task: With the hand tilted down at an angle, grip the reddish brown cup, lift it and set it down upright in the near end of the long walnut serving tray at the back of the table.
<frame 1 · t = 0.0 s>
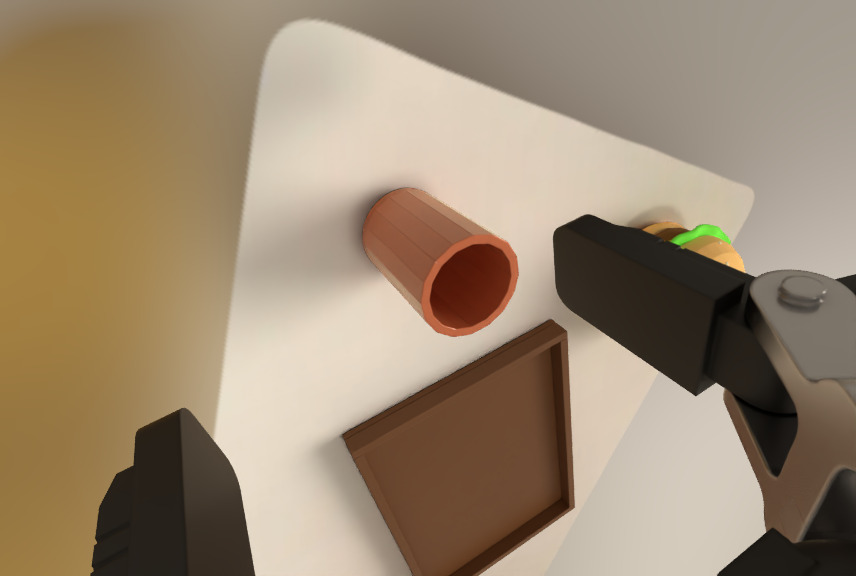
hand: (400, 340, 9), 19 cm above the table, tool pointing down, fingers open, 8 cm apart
reddish brown cup: (403, 231, 30), on the table
hamburger: (637, 268, 44), on the table
tray: (479, 471, 47), on the table
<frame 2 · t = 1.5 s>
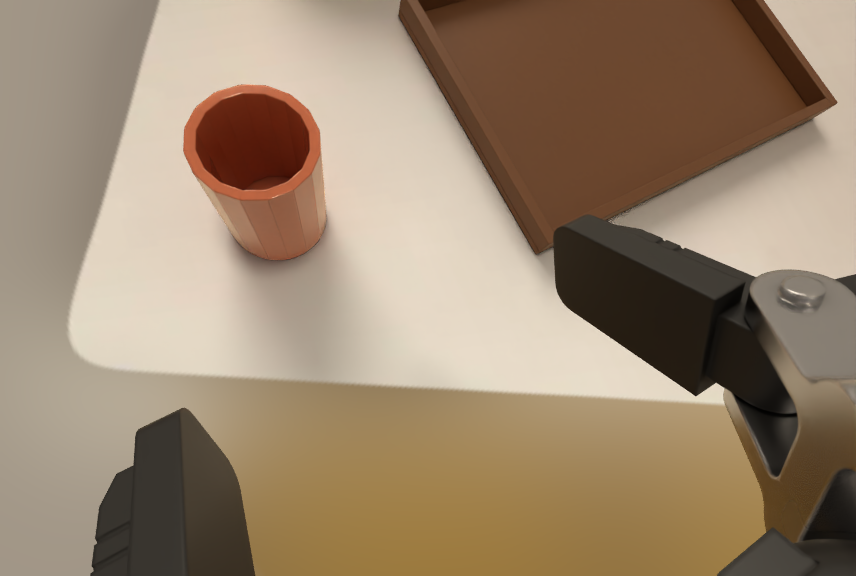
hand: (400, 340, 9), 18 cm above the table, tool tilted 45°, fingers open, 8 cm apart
reddish brown cup: (278, 216, 28), on the table
tray: (620, 70, 36), on the table
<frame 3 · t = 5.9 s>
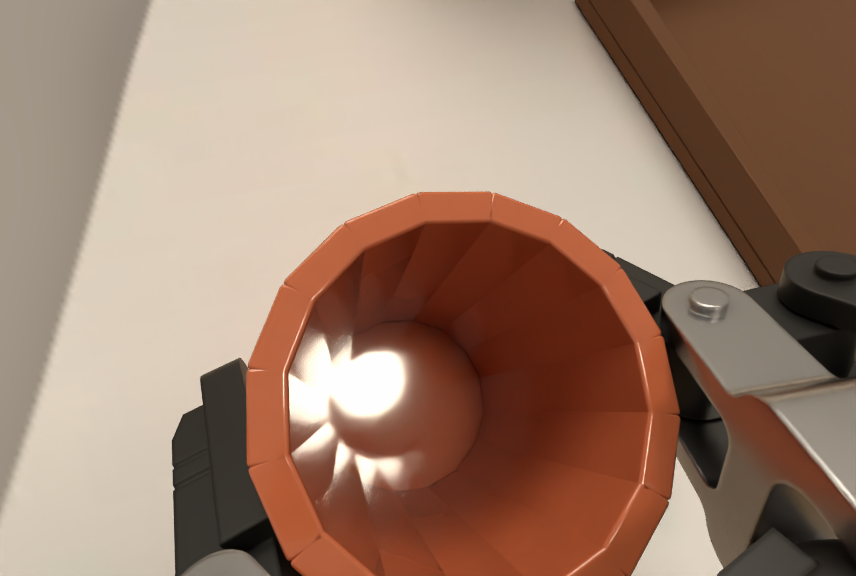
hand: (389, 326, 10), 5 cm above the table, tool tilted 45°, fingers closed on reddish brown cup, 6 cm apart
reddish brown cup: (401, 402, 14), on the table, touching gripper
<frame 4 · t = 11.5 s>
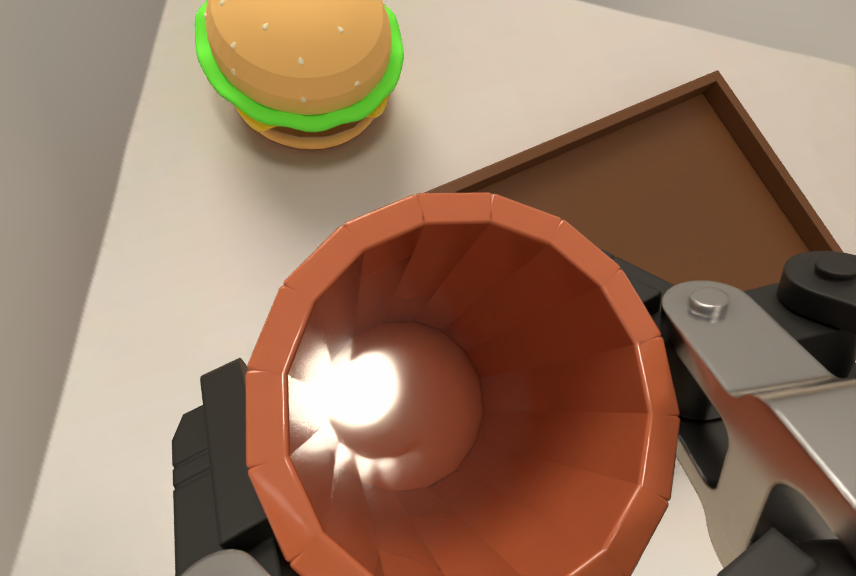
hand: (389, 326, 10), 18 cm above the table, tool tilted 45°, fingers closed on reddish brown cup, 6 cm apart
reddish brown cup: (401, 402, 14), point 14 cm above the table, touching gripper
hamburger: (308, 92, 32), on the table
tray: (632, 266, 33), on the table
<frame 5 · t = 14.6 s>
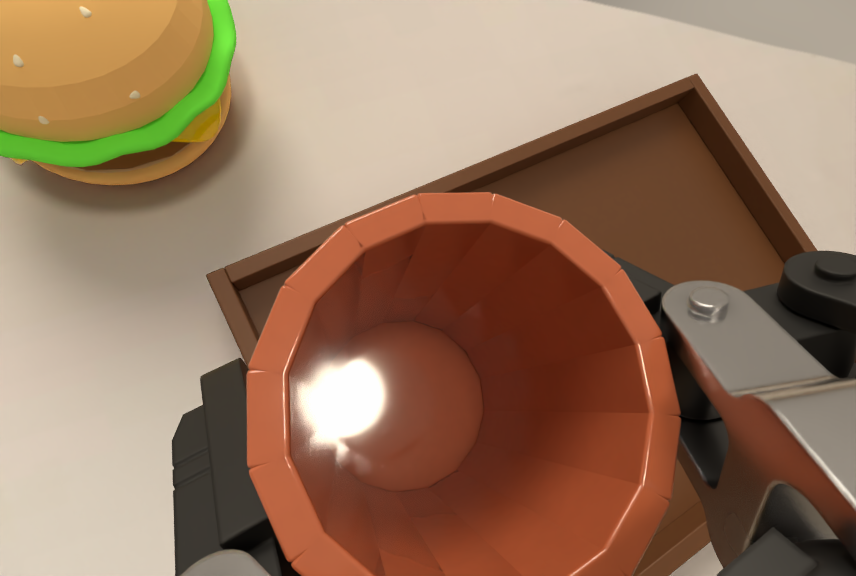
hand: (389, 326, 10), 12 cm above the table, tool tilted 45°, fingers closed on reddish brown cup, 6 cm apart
reddish brown cup: (401, 402, 14), point 8 cm above the table, touching gripper
hamburger: (130, 104, 23), on the table
tray: (576, 340, 24), on the table
when the fingers open (5 cm above the table, at t = 17.1 s): reddish brown cup stays where it is, resting on tray.
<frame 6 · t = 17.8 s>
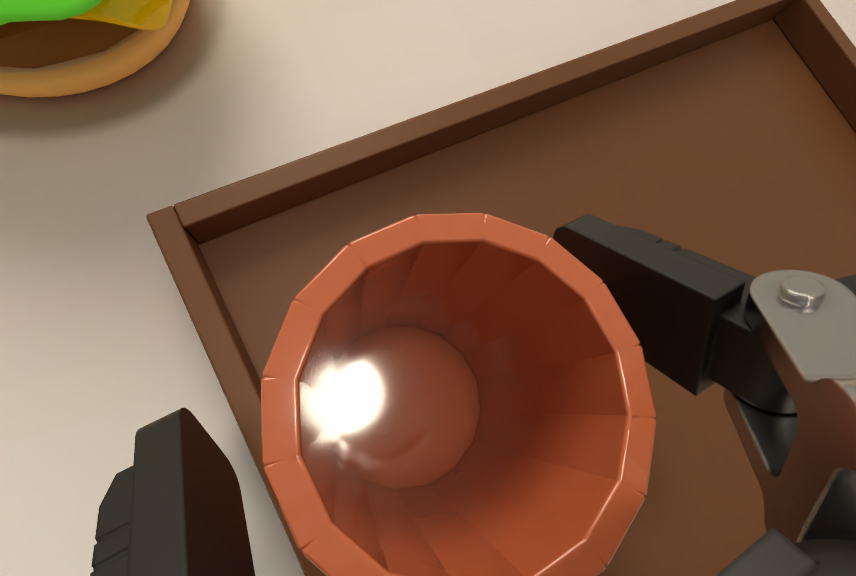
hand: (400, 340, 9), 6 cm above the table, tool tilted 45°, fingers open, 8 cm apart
reddish brown cup: (401, 403, 15), point 1 cm above the table, touching tray
tray: (659, 318, 18), on the table
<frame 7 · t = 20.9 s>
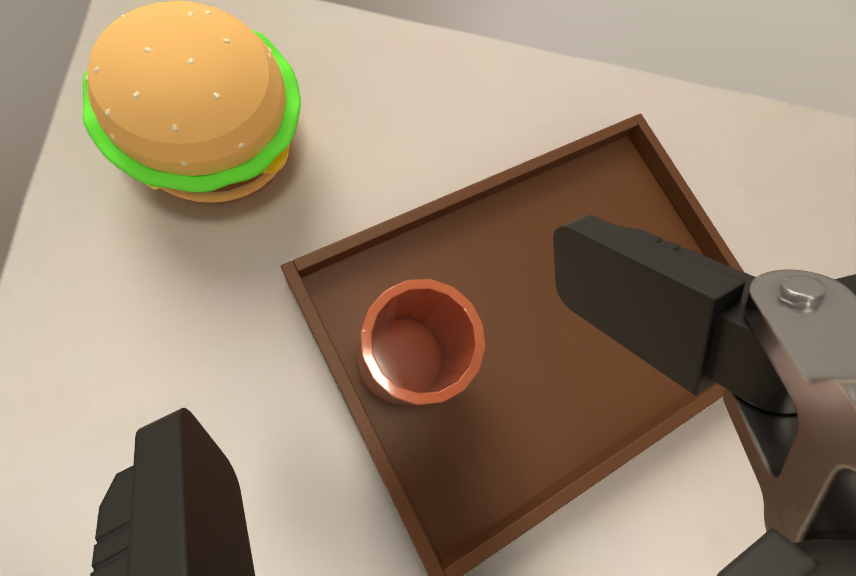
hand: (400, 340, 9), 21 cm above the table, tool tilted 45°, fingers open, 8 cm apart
reddish brown cup: (402, 358, 29), point 1 cm above the table, touching tray
hamburger: (217, 142, 32), on the table
tray: (544, 315, 32), on the table
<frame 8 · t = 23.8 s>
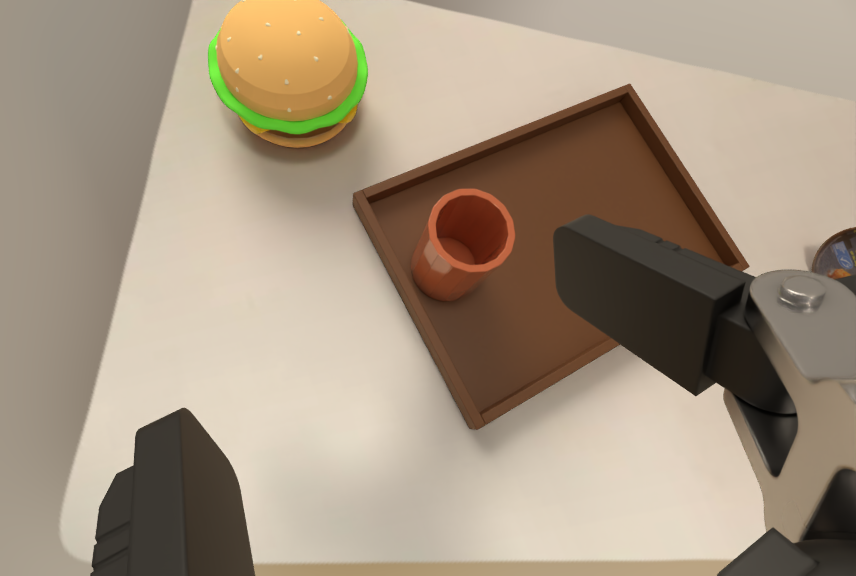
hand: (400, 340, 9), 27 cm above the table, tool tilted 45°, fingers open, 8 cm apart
reddish brown cup: (445, 267, 38), point 1 cm above the table, touching tray
tin: (837, 316, 45), on the table
hamburger: (296, 102, 40), on the table
tray: (553, 240, 41), on the table
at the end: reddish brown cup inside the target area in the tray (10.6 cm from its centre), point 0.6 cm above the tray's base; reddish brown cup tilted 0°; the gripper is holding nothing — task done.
